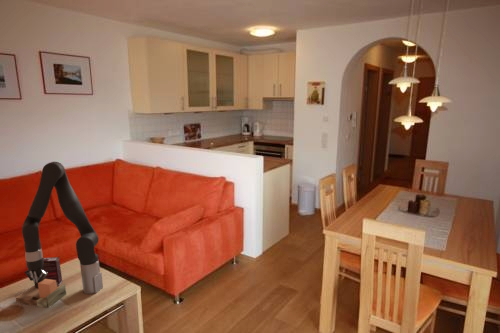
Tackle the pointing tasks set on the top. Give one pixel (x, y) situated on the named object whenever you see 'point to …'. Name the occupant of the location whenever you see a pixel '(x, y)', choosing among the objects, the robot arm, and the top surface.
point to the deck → (34, 298)
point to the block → (46, 287)
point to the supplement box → (53, 269)
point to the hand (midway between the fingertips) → (38, 287)
